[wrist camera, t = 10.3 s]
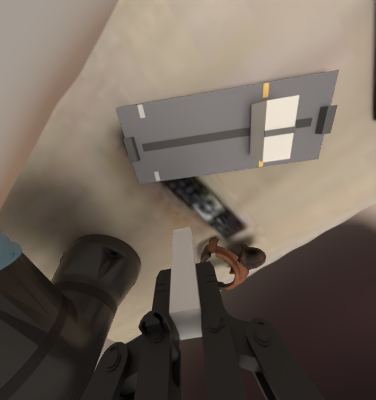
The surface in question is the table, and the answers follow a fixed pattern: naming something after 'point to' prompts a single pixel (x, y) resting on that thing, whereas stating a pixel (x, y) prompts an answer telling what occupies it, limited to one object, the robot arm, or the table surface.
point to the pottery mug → (235, 261)
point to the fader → (273, 128)
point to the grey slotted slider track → (222, 128)
